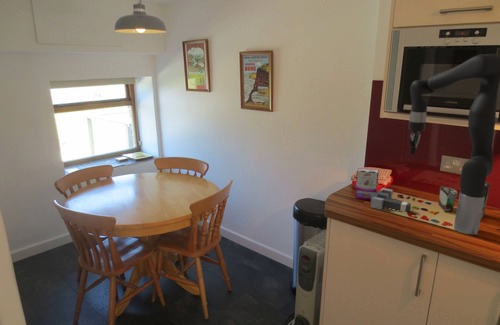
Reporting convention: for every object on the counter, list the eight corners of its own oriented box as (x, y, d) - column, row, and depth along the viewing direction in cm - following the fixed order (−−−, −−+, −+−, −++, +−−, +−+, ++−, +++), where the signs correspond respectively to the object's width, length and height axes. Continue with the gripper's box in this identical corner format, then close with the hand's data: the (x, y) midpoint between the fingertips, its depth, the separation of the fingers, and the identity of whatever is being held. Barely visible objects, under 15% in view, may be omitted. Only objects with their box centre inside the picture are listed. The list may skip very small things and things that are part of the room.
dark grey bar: (409, 210, 171) (410, 203, 170) (407, 213, 168) (408, 205, 167) (377, 203, 180) (378, 196, 179) (375, 205, 177) (376, 198, 176)
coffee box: (481, 219, 161) (488, 188, 156) (466, 215, 165) (472, 185, 160) (484, 213, 167) (490, 183, 163) (469, 210, 171) (475, 180, 167)
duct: (391, 198, 187) (393, 188, 185) (381, 209, 172) (382, 198, 171) (381, 195, 190) (382, 186, 189) (369, 206, 176) (370, 196, 174)
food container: (459, 214, 167) (462, 195, 164) (445, 213, 168) (448, 194, 165) (450, 204, 178) (453, 186, 175) (437, 203, 179) (440, 186, 177)
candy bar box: (376, 198, 187) (379, 169, 183) (375, 201, 183) (378, 172, 179) (355, 195, 192) (358, 167, 187) (354, 198, 187) (357, 170, 183)
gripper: (422, 123, 162) (418, 157, 166) (428, 119, 172) (423, 152, 177) (406, 121, 166) (401, 155, 171) (412, 118, 176) (408, 150, 181)
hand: (413, 154), depth 174 cm, fingers closed
